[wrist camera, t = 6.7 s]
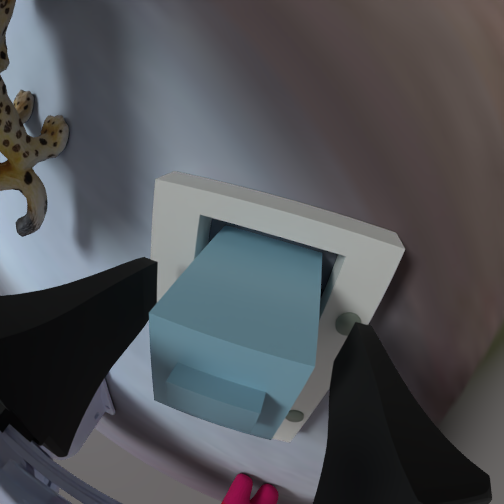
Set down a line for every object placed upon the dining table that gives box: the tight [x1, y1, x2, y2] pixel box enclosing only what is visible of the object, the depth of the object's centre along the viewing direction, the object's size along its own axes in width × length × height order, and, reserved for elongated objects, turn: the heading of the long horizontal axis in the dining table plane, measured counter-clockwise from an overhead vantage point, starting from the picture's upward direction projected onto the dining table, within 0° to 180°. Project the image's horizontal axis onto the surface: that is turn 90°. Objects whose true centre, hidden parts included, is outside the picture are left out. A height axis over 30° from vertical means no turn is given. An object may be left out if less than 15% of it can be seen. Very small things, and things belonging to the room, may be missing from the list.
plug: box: [149, 225, 322, 440], centre depth 10 cm, size 4×4×7 cm
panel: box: [151, 171, 405, 443], centre depth 13 cm, size 14×9×2 cm, turn 168°
